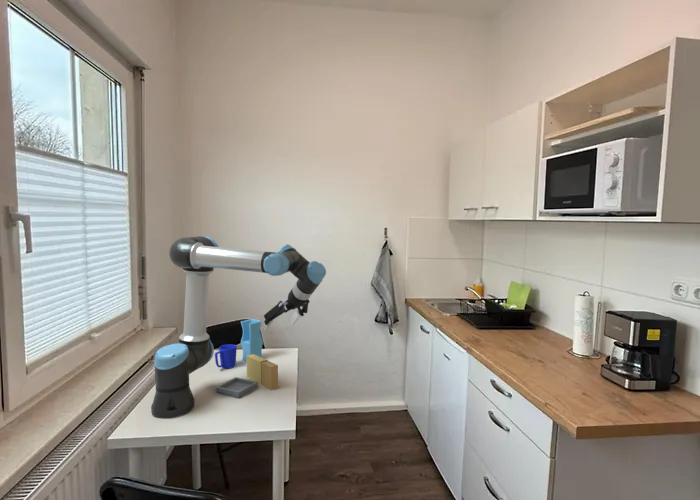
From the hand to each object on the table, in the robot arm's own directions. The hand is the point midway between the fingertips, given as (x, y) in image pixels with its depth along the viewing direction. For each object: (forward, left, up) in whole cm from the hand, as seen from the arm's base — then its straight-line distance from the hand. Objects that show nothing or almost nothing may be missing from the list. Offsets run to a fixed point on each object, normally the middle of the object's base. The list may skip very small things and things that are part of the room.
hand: (278, 324), depth 173 cm
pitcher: (+25, +35, -28) cm, 51 cm away
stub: (+1, +6, -28) cm, 28 cm away
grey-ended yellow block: (+4, +15, -28) cm, 32 cm away
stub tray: (-8, +16, -28) cm, 33 cm away
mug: (+10, +39, -28) cm, 49 cm away
